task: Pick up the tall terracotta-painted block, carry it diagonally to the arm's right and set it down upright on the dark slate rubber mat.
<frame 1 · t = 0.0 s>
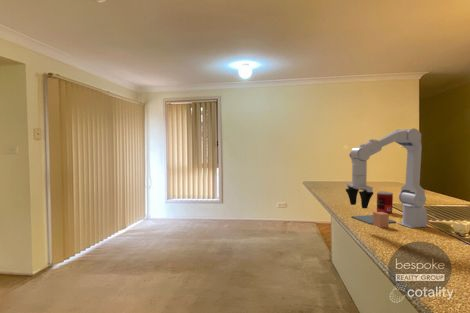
hand: (358, 206, 129), 10 cm above the counter, tool pointing down, fingers open, 7 cm apart
block: (380, 226, 135), on the counter
mat: (372, 219, 146), on the counter
canned food: (384, 212, 163), on the counter
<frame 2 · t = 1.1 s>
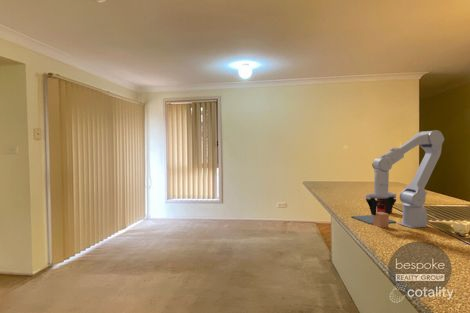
hand: (380, 214, 134), 5 cm above the counter, tool pointing down, fingers open, 7 cm apart
nothing on the counter moved.
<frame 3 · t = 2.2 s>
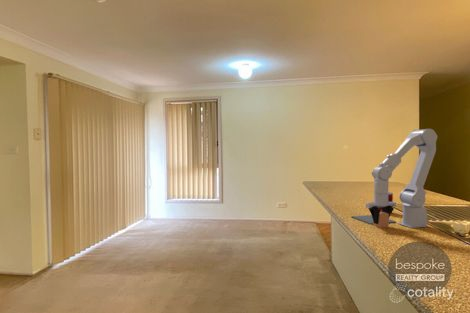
hand: (380, 223, 135), 1 cm above the counter, tool pointing down, fingers closed on block, 4 cm apart
block: (380, 226, 135), on the counter, touching gripper
everything else where it was.
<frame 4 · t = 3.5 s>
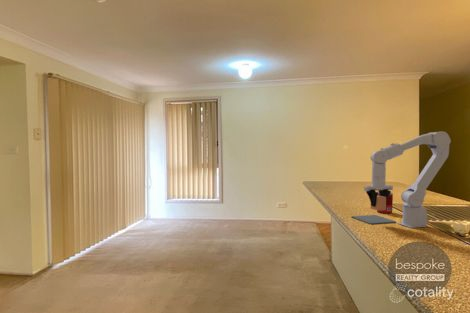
hand: (378, 205, 138), 8 cm above the counter, tool pointing down, fingers closed on block, 4 cm apart
block: (378, 209, 138), point 7 cm above the counter, touching gripper
everything else where it was.
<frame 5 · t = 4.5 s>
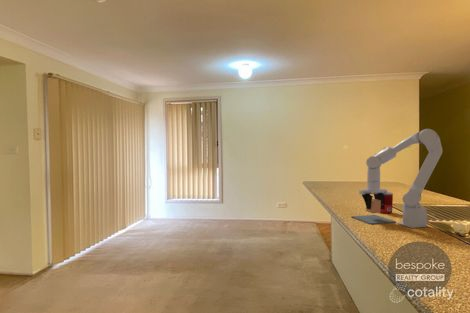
hand: (373, 208, 146), 6 cm above the counter, tool pointing down, fingers closed on block, 4 cm apart
block: (373, 211, 146), point 4 cm above the counter, touching gripper
everything else where it was.
when the fingers open (4 cm above the counter, at t = 5.3 s): block drops 1 cm, resting on mat.
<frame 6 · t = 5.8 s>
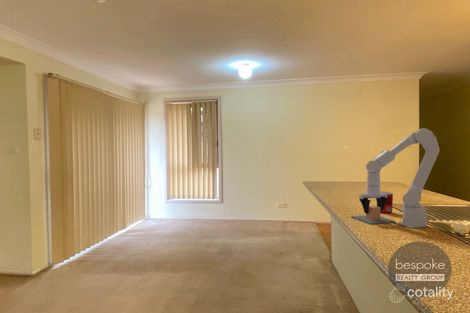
hand: (373, 212, 146), 4 cm above the counter, tool pointing down, fingers open, 7 cm apart
block: (373, 218, 146), point 1 cm above the counter, touching mat
everything else where it was.
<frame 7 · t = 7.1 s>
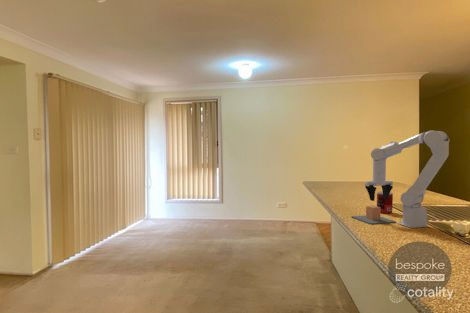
hand: (378, 200, 148), 9 cm above the counter, tool pointing down, fingers open, 7 cm apart
nothing on the counter moved.
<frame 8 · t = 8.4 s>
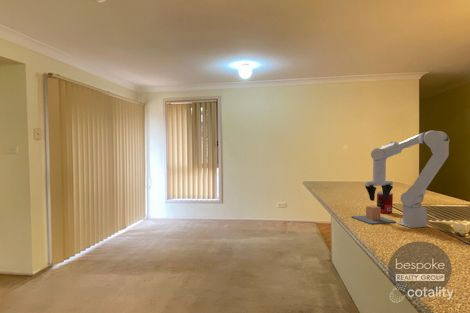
hand: (378, 200, 148), 9 cm above the counter, tool pointing down, fingers open, 7 cm apart
nothing on the counter moved.
at the end: block inside the target area on the mat (0.1 cm from its centre), point 0.6 cm above the mat's base; block tilted 0°; the gripper is holding nothing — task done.
